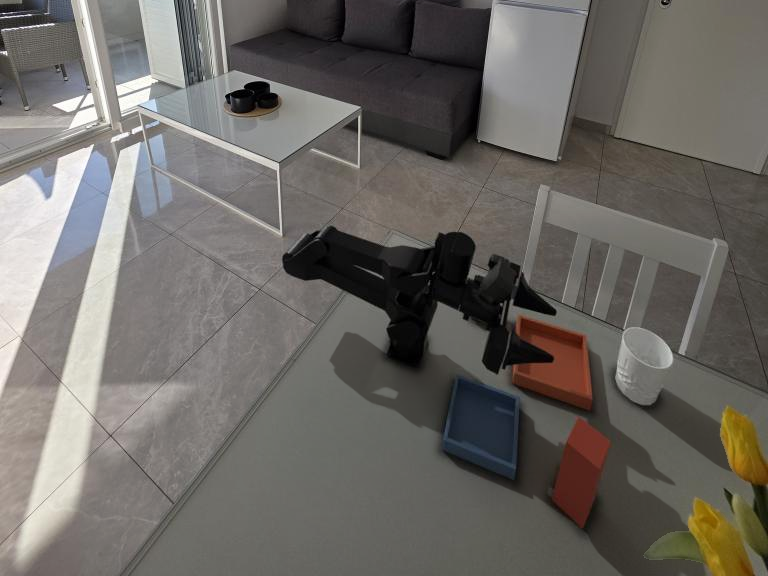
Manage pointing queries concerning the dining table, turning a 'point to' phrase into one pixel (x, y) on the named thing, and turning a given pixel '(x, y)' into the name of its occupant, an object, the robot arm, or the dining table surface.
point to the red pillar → (580, 471)
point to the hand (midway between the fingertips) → (554, 335)
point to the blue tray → (483, 426)
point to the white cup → (642, 365)
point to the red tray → (555, 363)
